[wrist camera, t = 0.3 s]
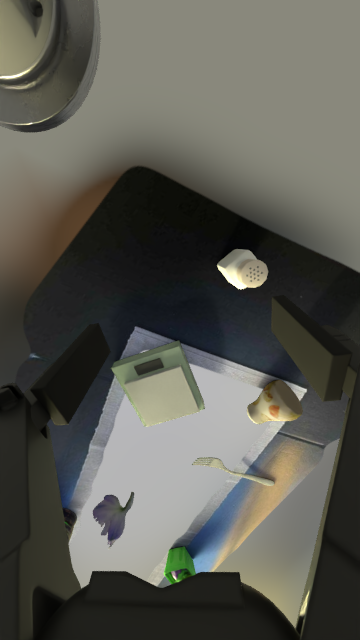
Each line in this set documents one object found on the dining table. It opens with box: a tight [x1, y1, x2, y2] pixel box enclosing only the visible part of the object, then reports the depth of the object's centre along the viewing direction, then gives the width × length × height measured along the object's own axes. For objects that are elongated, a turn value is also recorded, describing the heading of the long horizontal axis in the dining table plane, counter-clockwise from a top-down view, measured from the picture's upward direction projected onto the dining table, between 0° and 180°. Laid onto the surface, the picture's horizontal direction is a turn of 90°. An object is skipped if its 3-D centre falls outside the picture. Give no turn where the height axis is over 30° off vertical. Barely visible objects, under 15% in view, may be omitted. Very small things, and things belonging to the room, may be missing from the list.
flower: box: [93, 492, 134, 549], centre depth 49 cm, size 9×9×10 cm
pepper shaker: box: [217, 249, 268, 289], centre depth 27 cm, size 4×4×10 cm
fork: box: [192, 457, 275, 486], centre depth 49 cm, size 3×24×2 cm, turn 61°
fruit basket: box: [164, 547, 196, 584], centre depth 58 cm, size 11×9×11 cm
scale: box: [111, 341, 205, 426], centre depth 38 cm, size 15×13×3 cm
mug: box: [247, 380, 303, 424], centre depth 39 cm, size 8×10×10 cm
